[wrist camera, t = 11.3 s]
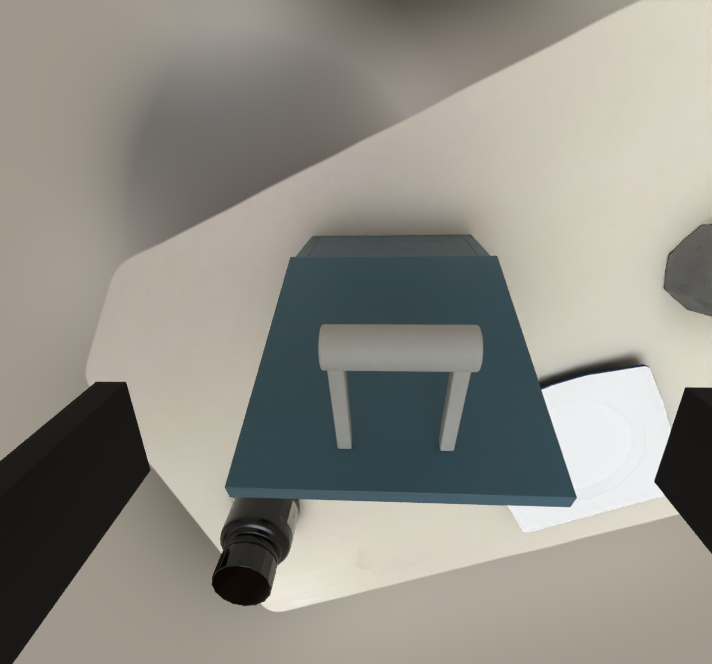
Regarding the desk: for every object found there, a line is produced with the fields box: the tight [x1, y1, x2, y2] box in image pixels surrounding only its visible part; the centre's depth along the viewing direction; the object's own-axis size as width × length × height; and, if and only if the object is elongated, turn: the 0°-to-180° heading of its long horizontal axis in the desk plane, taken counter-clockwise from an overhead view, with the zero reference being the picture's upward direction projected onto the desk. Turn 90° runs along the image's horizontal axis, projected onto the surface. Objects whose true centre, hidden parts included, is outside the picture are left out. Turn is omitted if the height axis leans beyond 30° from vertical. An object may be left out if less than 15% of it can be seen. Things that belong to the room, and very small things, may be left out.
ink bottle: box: [212, 497, 299, 606], centre depth 53 cm, size 10×9×12 cm
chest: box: [296, 235, 490, 257], centre depth 42 cm, size 18×16×10 cm
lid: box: [225, 256, 577, 507], centre depth 24 cm, size 19×16×9 cm
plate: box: [507, 364, 671, 533], centre depth 50 cm, size 20×20×3 cm
